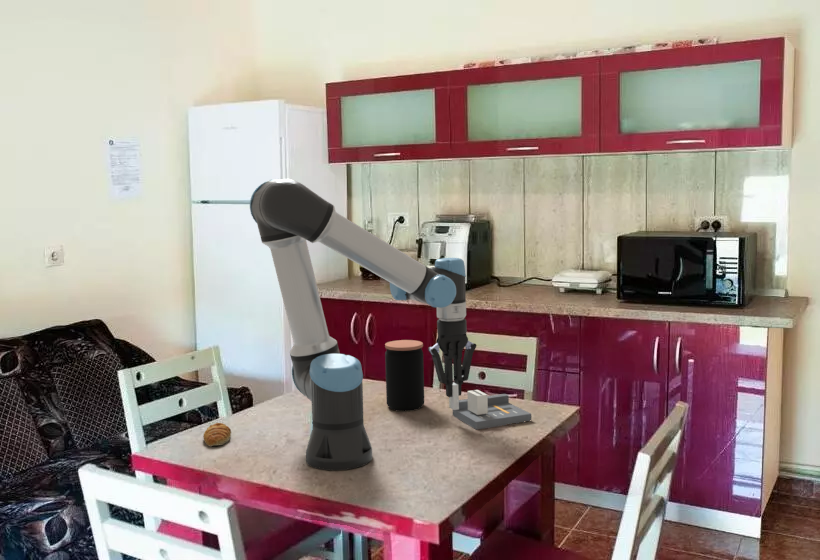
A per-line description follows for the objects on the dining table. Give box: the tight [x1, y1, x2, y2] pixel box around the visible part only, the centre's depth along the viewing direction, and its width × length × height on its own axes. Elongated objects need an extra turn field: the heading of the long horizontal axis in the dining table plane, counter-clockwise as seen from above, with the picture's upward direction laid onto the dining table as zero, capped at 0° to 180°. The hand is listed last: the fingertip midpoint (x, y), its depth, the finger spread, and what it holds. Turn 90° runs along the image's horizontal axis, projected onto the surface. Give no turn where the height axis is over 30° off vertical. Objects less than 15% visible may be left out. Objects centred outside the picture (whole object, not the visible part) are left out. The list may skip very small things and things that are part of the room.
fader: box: [467, 389, 489, 415], centre depth 214 cm, size 3×6×5 cm, turn 22°
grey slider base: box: [452, 393, 532, 431], centre depth 216 cm, size 16×14×4 cm
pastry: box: [202, 422, 232, 447], centre depth 203 cm, size 9×7×4 cm
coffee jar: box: [384, 339, 425, 412], centre depth 229 cm, size 11×11×18 cm
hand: (454, 408), depth 212 cm, fingers closed
